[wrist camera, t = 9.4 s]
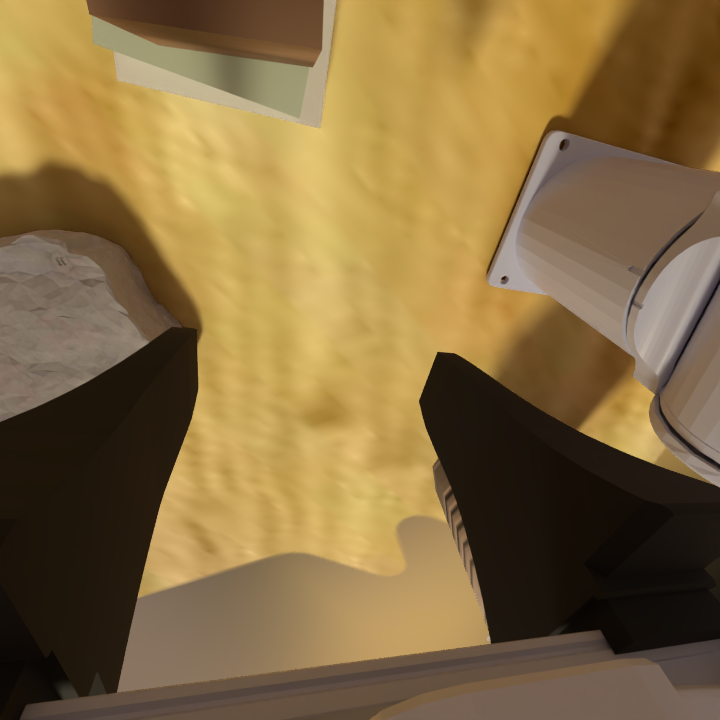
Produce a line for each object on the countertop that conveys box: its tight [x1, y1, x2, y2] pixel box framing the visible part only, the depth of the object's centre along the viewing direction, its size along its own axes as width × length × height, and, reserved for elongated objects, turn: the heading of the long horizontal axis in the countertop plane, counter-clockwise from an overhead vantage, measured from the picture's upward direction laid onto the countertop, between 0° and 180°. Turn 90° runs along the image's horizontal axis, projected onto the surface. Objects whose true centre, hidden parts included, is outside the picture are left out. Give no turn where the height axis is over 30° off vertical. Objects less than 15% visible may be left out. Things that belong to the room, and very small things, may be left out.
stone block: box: [0, 229, 183, 422], centre depth 19 cm, size 12×5×10 cm
